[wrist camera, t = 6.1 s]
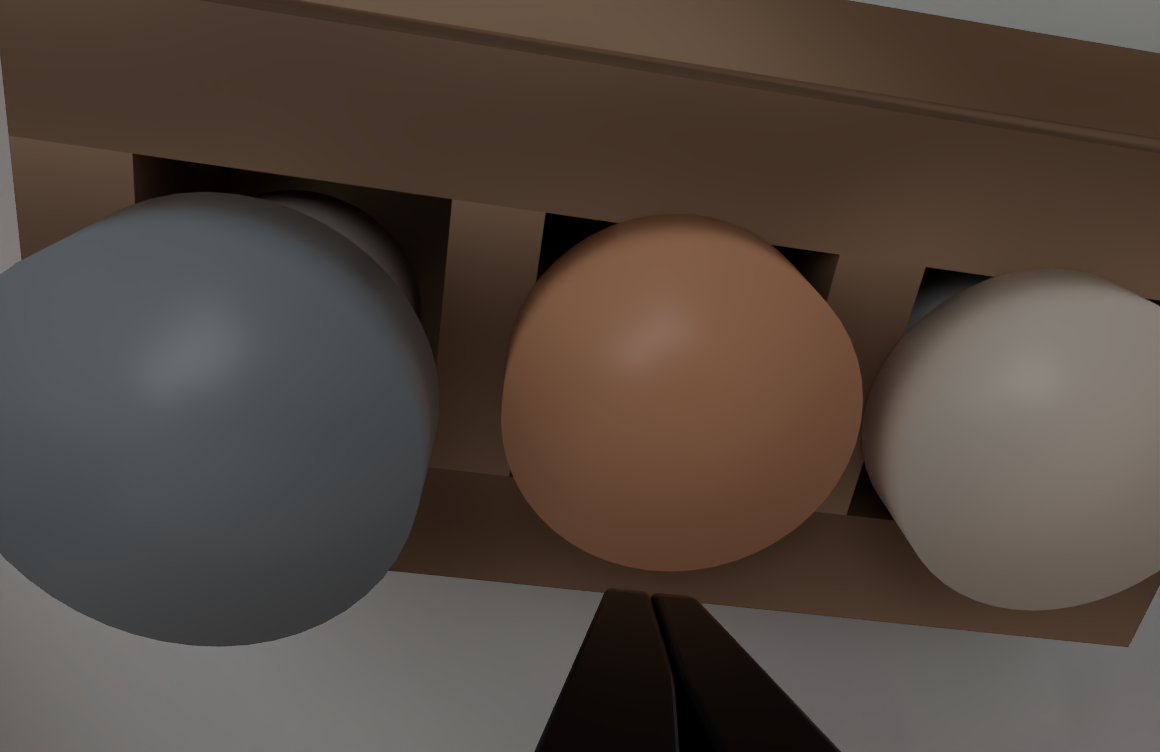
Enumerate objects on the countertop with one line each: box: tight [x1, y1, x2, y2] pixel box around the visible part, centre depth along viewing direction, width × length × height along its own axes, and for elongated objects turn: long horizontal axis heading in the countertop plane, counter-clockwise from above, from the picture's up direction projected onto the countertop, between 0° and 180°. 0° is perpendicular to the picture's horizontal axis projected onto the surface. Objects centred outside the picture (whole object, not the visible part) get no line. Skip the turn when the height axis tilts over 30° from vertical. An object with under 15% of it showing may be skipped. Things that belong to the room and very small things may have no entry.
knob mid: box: [501, 214, 863, 572], centre depth 15 cm, size 5×5×5 cm
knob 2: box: [861, 267, 1160, 611], centre depth 16 cm, size 5×5×5 cm
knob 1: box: [0, 190, 440, 646], centre depth 12 cm, size 5×5×5 cm
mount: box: [0, 0, 1160, 647], centre depth 17 cm, size 12×23×5 cm, turn 81°
